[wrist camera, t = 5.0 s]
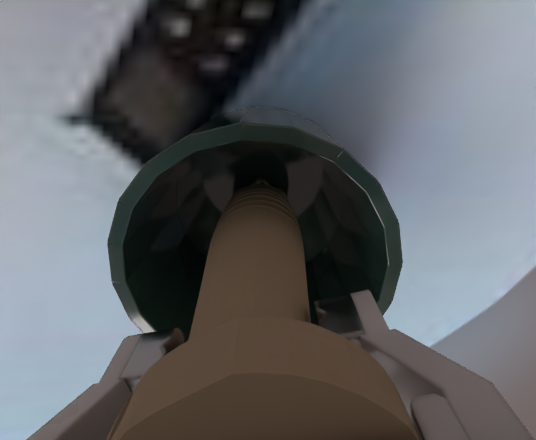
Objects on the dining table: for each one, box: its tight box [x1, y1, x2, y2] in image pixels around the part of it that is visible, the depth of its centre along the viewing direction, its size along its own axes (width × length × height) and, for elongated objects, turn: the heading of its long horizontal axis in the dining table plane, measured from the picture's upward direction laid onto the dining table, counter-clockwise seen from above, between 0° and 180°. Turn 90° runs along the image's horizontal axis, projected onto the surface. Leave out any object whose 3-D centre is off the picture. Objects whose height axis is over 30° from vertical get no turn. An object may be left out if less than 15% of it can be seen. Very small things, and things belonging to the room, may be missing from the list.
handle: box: [106, 178, 419, 440], centre depth 12 cm, size 5×6×15 cm
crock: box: [108, 106, 403, 343], centre depth 16 cm, size 11×11×8 cm
